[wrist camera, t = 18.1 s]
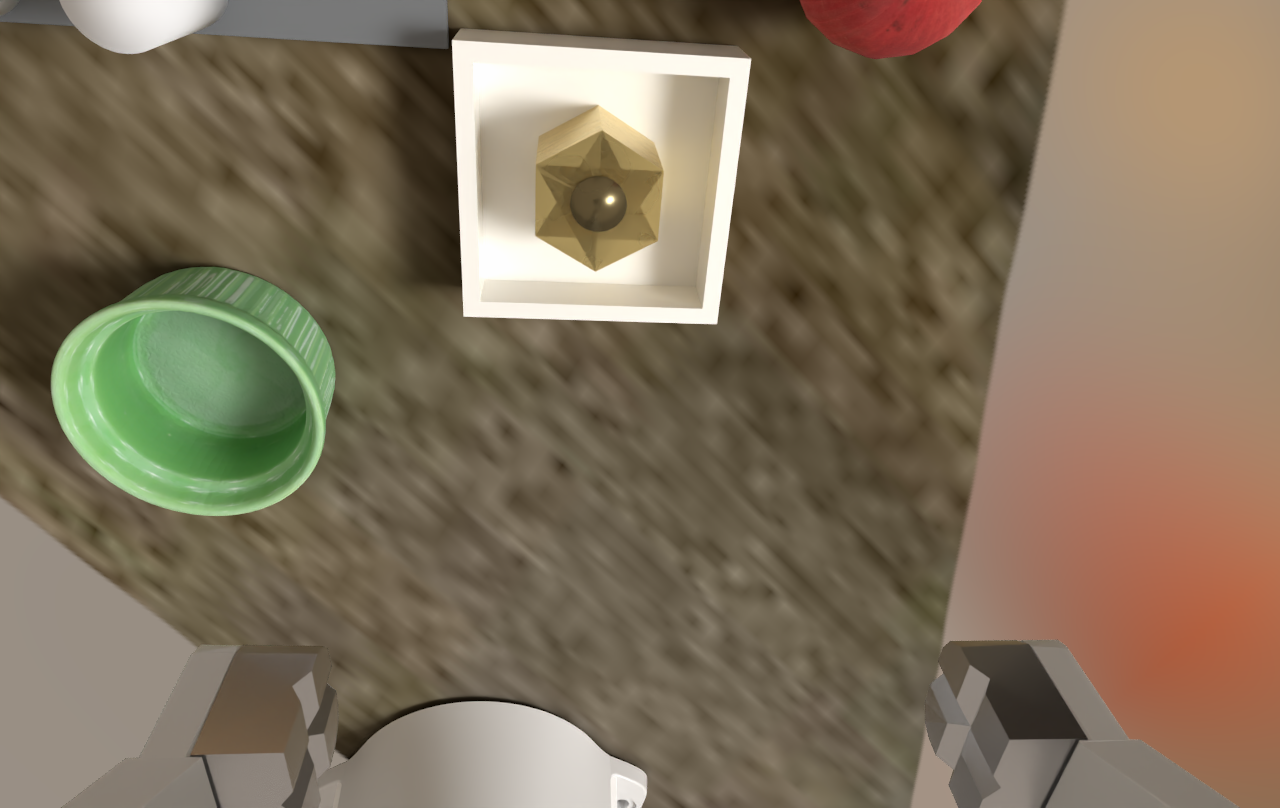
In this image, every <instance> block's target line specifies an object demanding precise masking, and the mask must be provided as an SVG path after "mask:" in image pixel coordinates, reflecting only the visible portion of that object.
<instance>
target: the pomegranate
mask: <svg viewBox="0 0 1280 808" xmlns="http://www.w3.org/2000/svg"><path fill="white" fill-rule="evenodd" d="M981 1H982V0H800V3H801V5H802V8H803V10H804V13H805V15H806V18H807V19H808V20H809V21H810V22H811V23H812V24H813V25H814V26H815V27H816V28H817V29H819V30H820V31H821V32H822V33H823V34H824V35H825V36H826V37H827V38H828V39H829V40H830V41H831V42H832V43H833V44H835V45H837V46H840V47H842V48H845V49H847V50H850V51H852V52H855V53H857V54H860V55H862V56H865V57H868V58H872V59H880V58H888V57H896V56H904V55H912V54H915V53H917V52H919V51H920V50H922V49H924V48H926V47H928V46H930V45H932V44H933V43H935V42H937V41H939V40H941V39H943V38H945V37H946V36H948V35H949V34H951V33H952V32H953V31H954V30H955V29H956V28H957V27H958V26H959V25H960V24H961V23H962V22H963V20H964V19H965V18H966V17H967V16H968V15H969V14H970V13H971V12H972V11H973V10H974V9H975V8H976V7H977V6H978V5H979V4H980V3H981Z"/></svg>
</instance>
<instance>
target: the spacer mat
mask: <svg viewBox="0 0 1280 808" xmlns="http://www.w3.org/2000/svg"><path fill="white" fill-rule="evenodd" d="M0 22H16V23H32V24H48V25H65V26H75V27H76V28H77V29H78V30H79V31H80V32H81V33H82V34H83V35H84V36H86V37H87V38H88V39H90V40H91V41H92V42H94V43H96V44H97V45H99V46H101V47H103V48H105V49H108V50H111V51H114V52H118V53H124V54H136V53H142V52H145V51H148V50H150V49H153V48H155V47H158V46H161V45H163V44H166V43H168V42H171V41H173V40H176V39H178V38H181V37H184V36H186V35H189V34H191V33H194V34H211V35H227V36H243V37H259V38H276V39H292V40H308V41H324V42H340V43H357V44H373V45H389V46H405V47H422V48H438V49H448V48H449V32H448V9H447V0H0Z"/></svg>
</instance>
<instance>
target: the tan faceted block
mask: <svg viewBox="0 0 1280 808" xmlns="http://www.w3.org/2000/svg"><path fill="white" fill-rule="evenodd" d="M663 176H664V170H663V167H662V164H661V161H660V158H659V155H658V152H657V149H656V147H655V144H654V142H653V141H651V140H650V139H648V138H647V137H645V136H644V135H642V134H641V133H639V132H638V131H636V130H635V129H633V128H632V127H630V126H629V125H627V124H626V123H625V122H623V121H622V120H620V119H619V118H617V117H616V116H614V115H613V114H611V113H610V112H608V111H607V110H605V109H604V108H602V107H601V106H599V105H597V106H595V107H593V108H591V109H590V110H588V111H586V112H584V113H582V114H580V115H578V116H576V117H574V118H573V119H571V120H569V121H567V122H565V123H563V124H561V125H559V126H557V127H555V128H554V129H552V130H550V131H548V132H546V133H544V134H542V135H540V136H539V139H538V148H537V157H536V189H535V236H536V237H538V238H539V239H541V240H543V241H544V242H546V243H548V244H549V245H551V246H553V247H554V248H556V249H558V250H560V251H561V252H563V253H565V254H566V255H568V256H570V257H571V258H573V259H575V260H576V261H578V262H580V263H582V264H583V265H585V266H587V267H588V268H590V269H592V270H593V271H595V272H596V271H598V270H600V269H602V268H604V267H606V266H608V265H610V264H612V263H614V262H616V261H618V260H620V259H622V258H625V257H627V256H629V255H631V254H633V253H635V252H637V251H639V250H641V249H643V248H645V247H647V246H649V245H651V244H653V243H655V242H657V241H658V234H659V222H660V211H661V199H662V187H663Z"/></svg>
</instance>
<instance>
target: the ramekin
mask: <svg viewBox="0 0 1280 808" xmlns="http://www.w3.org/2000/svg"><path fill="white" fill-rule="evenodd" d="M334 388H335V368H334V360H333V357H332V353H331V348H330V346H329V344H328V341H327V339H326V337H325V335H324V333H323V332H322V330H321V328H320V327H319V325H318V324H317V323H316V321H315V320H314V319H313V317H312V316H311V315H310V314H309V312H308V311H307V310H306V309H304V308H303V307H302V306H301V305H300V304H299V302H297V301H296V300H295V299H293V298H292V297H291V296H290V295H288V294H287V293H286V292H284V291H283V290H281V289H280V288H278V287H276V286H275V285H273V284H271V283H269V282H267V281H265V280H263V279H261V278H258V277H256V276H253V275H250V274H247V273H244V272H240V271H236V270H231V269H228V268H220V267H192V268H186V269H180V270H176V271H173V272H170V273H166V274H164V275H161V276H159V277H158V278H156V279H154V280H152V281H149V282H147V283H146V284H144V285H143V286H141V287H140V288H138V289H137V290H135V291H134V292H133V293H131V294H130V295H128V296H127V297H126V298H124V299H123V300H122V301H120V302H118V303H115V304H112V305H109V306H107V307H105V308H103V309H101V310H99V311H97V312H96V313H94V314H92V315H90V316H89V317H87V318H86V319H84V320H83V321H82V322H81V323H79V324H78V325H77V326H76V327H75V328H74V329H73V330H72V331H71V332H70V333H69V334H68V336H67V337H66V338H65V340H64V341H63V343H62V345H61V346H60V348H59V350H58V352H57V355H56V357H55V360H54V363H53V367H52V373H51V394H52V399H53V405H54V409H55V413H56V416H57V418H58V420H59V423H60V425H61V428H62V430H63V431H64V433H65V435H66V436H67V438H68V440H69V441H70V443H71V444H72V445H73V447H74V448H75V449H76V450H77V452H78V453H79V454H80V455H81V456H82V458H83V459H84V460H85V461H86V462H87V463H88V464H89V465H90V466H91V467H92V468H93V469H95V470H96V471H97V472H98V473H99V474H100V475H102V476H103V477H105V478H106V479H107V480H108V481H110V482H111V483H113V484H114V485H116V486H117V487H119V488H120V489H122V490H124V491H126V492H127V493H129V494H131V495H133V496H135V497H137V498H139V499H141V500H144V501H146V502H149V503H151V504H154V505H157V506H160V507H163V508H167V509H170V510H174V511H178V512H184V513H188V514H196V515H206V516H227V515H237V514H243V513H248V512H252V511H256V510H259V509H263V508H265V507H268V506H270V505H273V504H275V503H277V502H279V501H281V500H282V499H284V498H285V497H287V496H289V495H290V494H292V493H293V492H294V491H295V490H297V489H298V488H299V487H300V486H301V485H302V484H303V483H304V482H305V480H306V479H307V478H308V477H309V476H310V474H311V473H312V471H313V470H314V468H315V466H316V464H317V462H318V460H319V458H320V455H321V452H322V448H323V444H324V439H325V432H326V417H327V414H328V411H329V408H330V404H331V400H332V396H333V392H334Z"/></svg>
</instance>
